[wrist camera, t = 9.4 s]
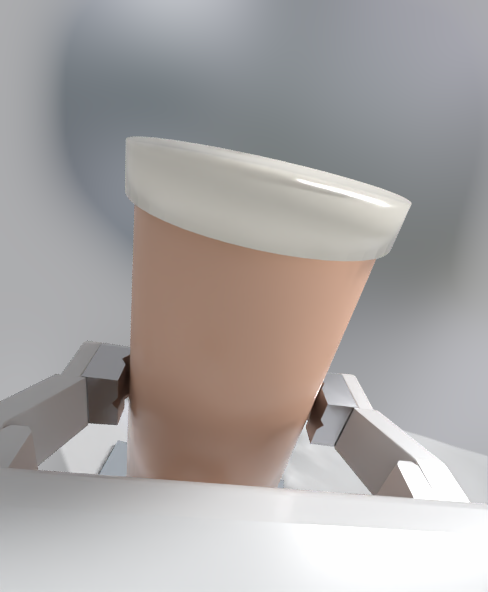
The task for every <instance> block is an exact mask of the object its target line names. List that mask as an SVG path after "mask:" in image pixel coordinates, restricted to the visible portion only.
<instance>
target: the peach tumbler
mask: <svg viewBox="0 0 488 592" xmlns="http://www.w3.org/2000/svg"><path fill="white" fill-rule="evenodd" d="M125 168H126V169H125V192H126V195H127V196H128V198H129V199H130V201H132V202H133V203H134V204H135V207H134V209H135V210H134V240H133V243H134V244H133V274H132V275H133V276H132V307H131V340H130V373H129V406H128V439H127V472H126V477H137V478H150V479H164V480H177V481H190V482H204V483H217V484H231V485H244V486H258V487H271V488H277V487H278V484H279V482H280V480H281V478H282V475H283V473H284V471H285V468H286V466H287V464H288V461H289V459H290V457H291V454H292V452H293V450H294V448H295V445H296V443H297V441H298V438H299V436H300V434H301V431H302V429H303V427H304V424H305V422H306V420H307V418H308V415H309V413H310V411H311V408H312V406H313V404H314V401H315V399H316V397H317V394H318V392H319V390H320V387H321V385H322V383H323V381H324V378H325V376H326V374H327V371H328V369H329V367H330V364H331V362H332V360H333V357H334V355H335V353H336V350H337V348H338V346H339V344H340V341H341V339H342V337H343V334H344V332H345V329H346V327H347V325H348V323H349V321H350V318H351V316H352V314H353V311H354V309H355V306H356V304H357V302H358V300H359V297H360V295H361V293H362V291H363V288H364V286H365V284H366V281H367V279H368V277H369V274H370V272H371V270H372V267H373V265H374V263H375V260H376V259H377V258H380V257H383V256H385V255H386V254H388V253H389V251H390V250H391V248H392V246H393V243H394V241H395V239H396V237H397V235H398V232H399V230H400V228H401V226H402V223H403V221H404V219H405V217H406V215H407V212H408V210H409V208H410V206H411V202H410V201H408V200H407V199H405V198H403V197H401V196H399V195H397V194H394V193H392V192H389V191H386V190H384V189H381V188H378V187H375V186H372V185H369V184H365V183H362V182H359V181H356V180H352V179H348V178H345V177H342V176H338V175H335V174H331V173H327V172H324V171H320V170H316V169H312V168H308V167H304V166H300V165H296V164H292V163H288V162H284V161H279V160H275V159H270V158H266V157H261V156H257V155H252V154H248V153H243V152H238V151H232V150H228V149H222V148H218V147H212V146H207V145H201V144H196V143H190V142H183V141H177V140H169V139H162V138H152V137H128V138H127V139H126V167H125Z"/></svg>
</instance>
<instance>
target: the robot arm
mask: <svg viewBox="0 0 488 592" xmlns="http://www.w3.org/2000/svg"><path fill="white" fill-rule="evenodd" d="M129 373H130V347H128V346H121V345H115V344H108V343H99V342H93V341H86V342H84V343H83V344H82V345H81V347H80V348H79V350H78V351H77V352H76V354H75V355H74V357H73V358H72V360H71V361H70V362H69V364H68V365H67V367H66V368H65V369H64V371H63V372H62V374H61V375H59V374H55V375H53V376H51V377H49V378H47V379H45V380H43V381H41V382H39V383H37V384H35V385H32V386H30V387H29V388H26V389H24V390H23V391H20V392H18V393H16V394H14V395H13V396H10V397H8V398H6V399H4V400H2V401H0V592H488V504H485V503H472V502H469V500H468V499H467V497H466V496H465V494H464V493H463V491H462V490H461V488H460V487H459V485H458V484H457V482H456V481H455V479H454V478H453V476H452V475H451V473H450V472H449V470H448V469H447V467H446V465H445V464H444V463H443V462H442V461H440V460H439V459H438V458H437V457H435V456H434V455H433V454H432V453H430V452H429V451H428V450H426V449H425V448H424V447H423V446H421V445H420V444H419V443H418V442H416V441H415V440H414V439H413V438H411V437H410V436H409V435H408V434H406V433H405V432H404V431H403V430H401V429H400V428H399V427H398V426H396V425H395V424H394V423H393V422H391V421H390V420H389V419H388V418H386V417H385V416H384V415H382V414H381V413H380V412H379V411H376V410H373V408H372V406H371V405H370V403H369V401H368V399H367V397H366V395H365V393H364V391H363V390H362V388H361V386H360V384H359V382H358V380H357V379H356V377H355V376H354V375H350V374H337V373H329V372H327V374H326V376H325V378H324V381H323V383H322V385H321V387H320V390H319V392H318V394H317V397H316V399H315V401H314V404H313V406H312V408H311V411H310V413H309V415H308V418H307V420H308V422H307V425H306V429H307V433H308V437H309V440H310V444H318V445H326V446H334V448H335V449H336V450H337V452H338V453H339V454H340V455H341V457H342V458H343V459H344V460H345V462H346V463H347V464H348V465H349V466H350V468H351V469H352V470H353V471H354V473H355V474H356V475H357V476H358V477H359V479H360V480H361V481H362V482H363V484H364V485H365V486H366V487H367V488H368V490H369V491H370V492H371V493H372V495H365V494H352V493H338V492H325V491H311V490H298V489H285V488H271V487H258V486H244V485H231V484H217V483H204V482H190V481H177V480H164V479H150V478H137V477H124V476H110V475H97V474H83V473H70V472H56V471H43V470H38V466H39V465H40V464H41V463H42V462H44V461H45V460H46V459H47V458H48V457H49V456H51V455H52V454H53V453H54V452H55V451H57V450H58V449H59V448H60V447H62V446H63V445H64V444H65V443H67V442H68V441H69V440H70V439H71V438H73V437H74V436H75V435H76V434H77V433H79V432H80V431H81V430H82V429H83V428H85V427H86V426H87V425H88V423H93V424H108V425H118V422H119V420H120V417H121V415H122V412H123V409H124V399H126V398H127V397H128V396H129Z"/></svg>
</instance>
